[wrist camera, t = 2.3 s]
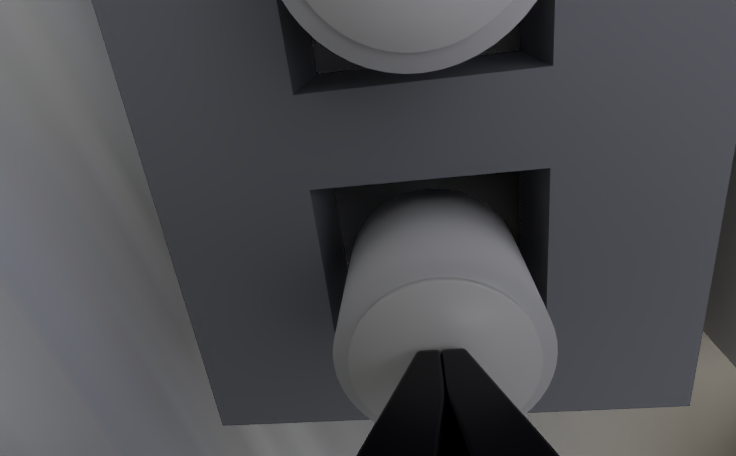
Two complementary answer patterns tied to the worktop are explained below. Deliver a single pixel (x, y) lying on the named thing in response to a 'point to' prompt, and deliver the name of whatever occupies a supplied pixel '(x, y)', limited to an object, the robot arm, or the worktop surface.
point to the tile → (724, 280)
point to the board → (430, 161)
